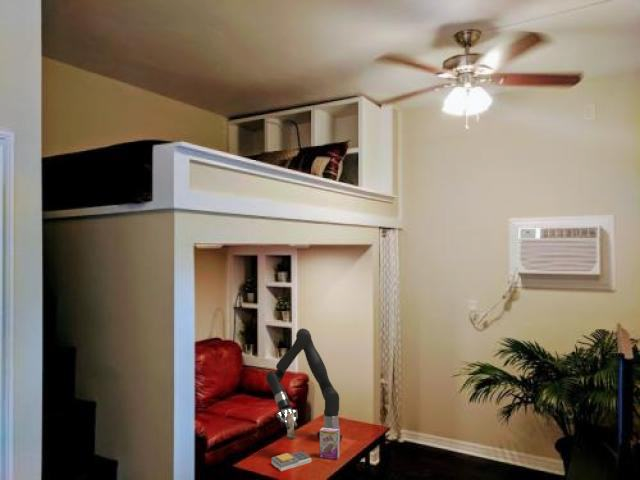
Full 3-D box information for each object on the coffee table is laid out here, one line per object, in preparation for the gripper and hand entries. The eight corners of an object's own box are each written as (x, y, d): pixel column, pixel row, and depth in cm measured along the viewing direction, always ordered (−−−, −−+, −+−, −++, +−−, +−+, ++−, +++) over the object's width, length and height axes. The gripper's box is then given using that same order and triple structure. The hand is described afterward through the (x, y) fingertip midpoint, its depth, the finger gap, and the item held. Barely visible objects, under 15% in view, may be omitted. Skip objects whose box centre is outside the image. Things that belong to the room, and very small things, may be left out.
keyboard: (301, 455, 292) (301, 449, 292) (311, 461, 283) (311, 455, 283) (271, 463, 281) (271, 457, 281) (281, 471, 272) (281, 464, 272)
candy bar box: (319, 458, 288) (318, 430, 288) (321, 454, 293) (321, 427, 293) (337, 460, 285) (337, 431, 285) (339, 456, 290) (339, 428, 290)
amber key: (287, 455, 285) (287, 453, 285) (293, 459, 279) (293, 457, 279) (276, 458, 281) (276, 456, 281) (282, 462, 275) (282, 460, 275)
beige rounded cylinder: (292, 435, 293) (292, 411, 293) (297, 438, 288) (297, 414, 288) (284, 437, 290) (284, 413, 290) (288, 440, 285) (288, 416, 285)
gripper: (274, 400, 291) (283, 427, 281) (294, 396, 299) (305, 422, 289) (270, 406, 296) (279, 433, 286) (290, 402, 304) (300, 428, 293)
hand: (292, 427), depth 287 cm, fingers closed on beige rounded cylinder, 4 cm apart
